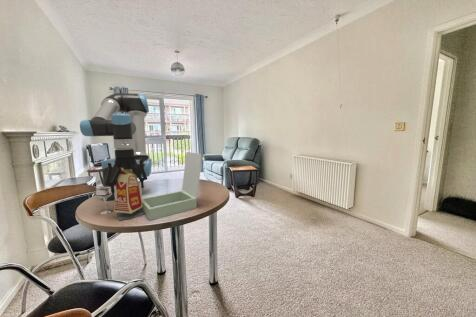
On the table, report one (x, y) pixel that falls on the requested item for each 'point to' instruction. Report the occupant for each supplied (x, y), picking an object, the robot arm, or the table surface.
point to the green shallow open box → (168, 209)
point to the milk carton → (127, 192)
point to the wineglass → (104, 196)
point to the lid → (192, 173)
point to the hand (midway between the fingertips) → (128, 197)
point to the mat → (129, 215)
